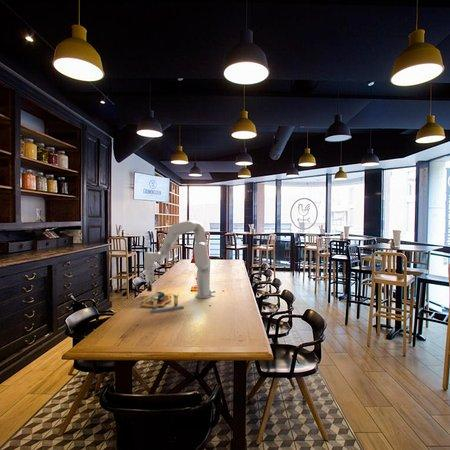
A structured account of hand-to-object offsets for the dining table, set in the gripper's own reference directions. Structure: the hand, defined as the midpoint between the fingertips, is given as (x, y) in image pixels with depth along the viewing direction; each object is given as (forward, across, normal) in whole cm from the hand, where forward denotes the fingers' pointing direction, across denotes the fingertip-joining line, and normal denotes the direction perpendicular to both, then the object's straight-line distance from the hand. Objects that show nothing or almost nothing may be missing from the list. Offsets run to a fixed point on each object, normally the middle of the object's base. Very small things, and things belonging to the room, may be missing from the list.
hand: (149, 291), depth 242 cm
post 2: (+3, -42, -7) cm, 42 cm away
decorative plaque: (+4, -22, 0) cm, 22 cm away
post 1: (+3, -42, +7) cm, 42 cm away
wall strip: (+3, -44, 0) cm, 45 cm away
